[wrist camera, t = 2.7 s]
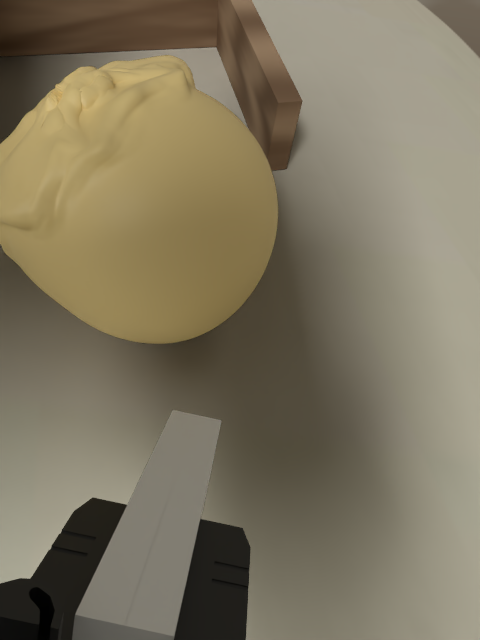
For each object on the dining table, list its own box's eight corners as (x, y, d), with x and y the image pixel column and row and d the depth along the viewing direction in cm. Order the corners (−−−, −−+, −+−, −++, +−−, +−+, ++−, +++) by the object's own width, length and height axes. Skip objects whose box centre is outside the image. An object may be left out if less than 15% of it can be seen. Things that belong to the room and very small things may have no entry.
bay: (286, 168, 29) (302, 100, 25) (-31, 203, 25) (-79, 129, 21) (229, 36, 36) (234, -35, 32) (-23, 46, 32) (-56, -33, 28)
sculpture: (126, 173, 27) (91, -25, 18) (292, 249, 26) (348, 73, 16) (-1, 301, 22) (-146, 115, 13) (197, 409, 20) (201, 286, 11)
